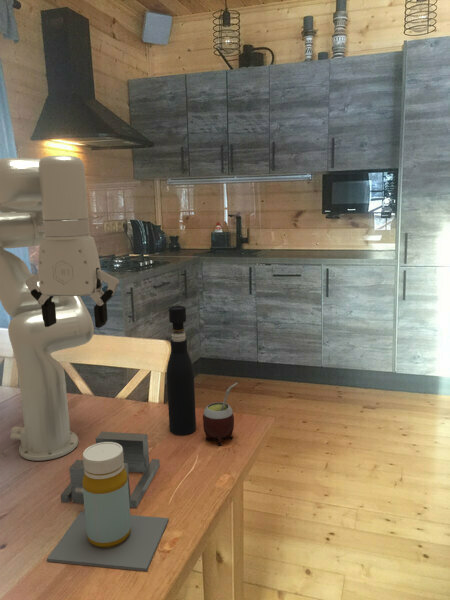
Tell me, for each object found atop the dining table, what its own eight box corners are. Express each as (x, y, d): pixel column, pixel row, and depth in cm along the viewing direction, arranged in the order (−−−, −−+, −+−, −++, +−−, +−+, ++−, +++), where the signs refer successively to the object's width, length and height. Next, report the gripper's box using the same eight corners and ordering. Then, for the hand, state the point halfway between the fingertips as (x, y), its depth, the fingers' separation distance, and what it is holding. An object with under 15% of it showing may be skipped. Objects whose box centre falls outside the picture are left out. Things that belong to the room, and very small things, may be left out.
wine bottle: (164, 433, 117) (158, 309, 111) (176, 422, 123) (170, 304, 117) (189, 437, 115) (184, 311, 109) (200, 425, 121) (195, 305, 115)
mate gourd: (203, 433, 117) (201, 372, 114) (236, 431, 118) (235, 371, 115) (204, 448, 110) (202, 384, 107) (239, 446, 110) (238, 382, 107)
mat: (47, 561, 77) (46, 558, 76) (81, 513, 88) (81, 510, 88) (146, 571, 74) (146, 568, 74) (168, 520, 86) (168, 518, 85)
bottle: (120, 552, 77) (114, 464, 74) (79, 547, 79) (71, 460, 76) (137, 524, 84) (132, 442, 81) (99, 519, 85) (92, 439, 82)
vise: (54, 510, 89) (50, 474, 88) (93, 461, 106) (91, 431, 104) (131, 516, 87) (129, 480, 86) (159, 465, 103) (157, 434, 102)
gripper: (9, 232, 84) (20, 330, 88) (105, 230, 81) (113, 331, 85) (32, 229, 91) (42, 319, 95) (122, 228, 89) (128, 321, 92)
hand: (75, 325), depth 90 cm, fingers open, 9 cm apart
